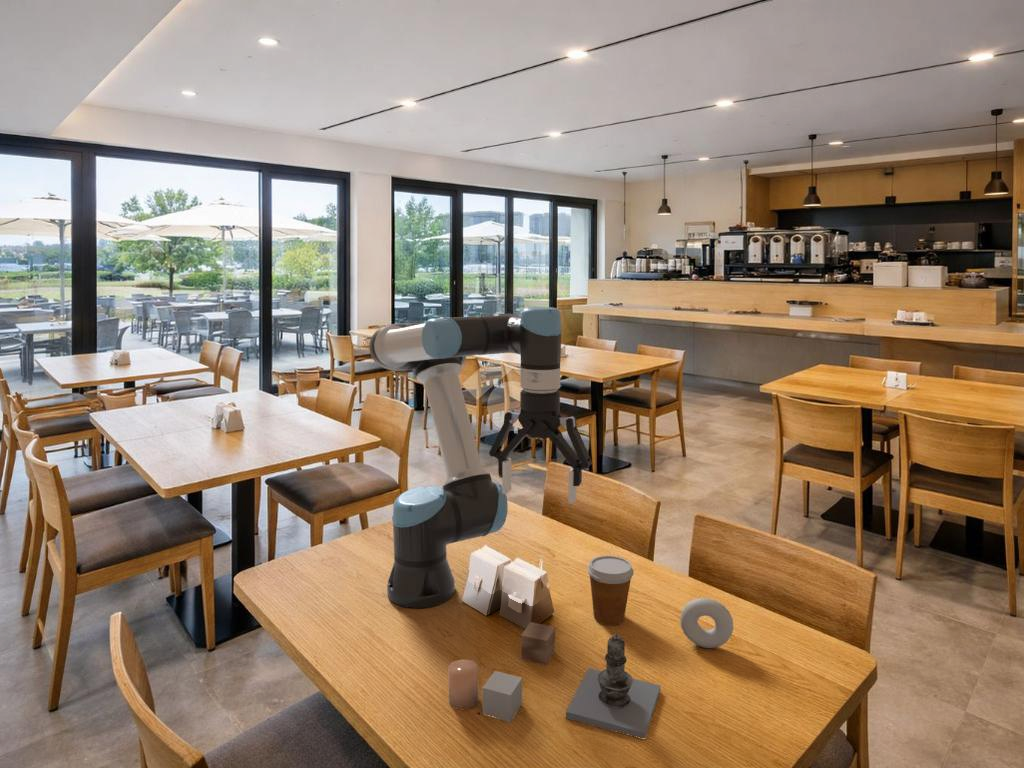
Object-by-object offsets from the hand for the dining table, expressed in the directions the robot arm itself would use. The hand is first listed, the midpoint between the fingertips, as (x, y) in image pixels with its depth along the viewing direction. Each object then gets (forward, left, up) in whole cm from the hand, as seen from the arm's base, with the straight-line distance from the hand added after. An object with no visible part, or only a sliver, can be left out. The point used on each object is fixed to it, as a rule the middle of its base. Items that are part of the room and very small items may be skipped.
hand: (538, 496), depth 129 cm
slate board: (+20, -16, -29) cm, 38 cm away
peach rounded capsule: (-4, -25, -29) cm, 38 cm away
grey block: (+3, -25, -29) cm, 38 cm away
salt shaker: (+20, -16, -28) cm, 38 cm away
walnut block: (+3, -8, -29) cm, 30 cm away
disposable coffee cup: (+12, +11, -29) cm, 33 cm away
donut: (+32, +8, -29) cm, 44 cm away
